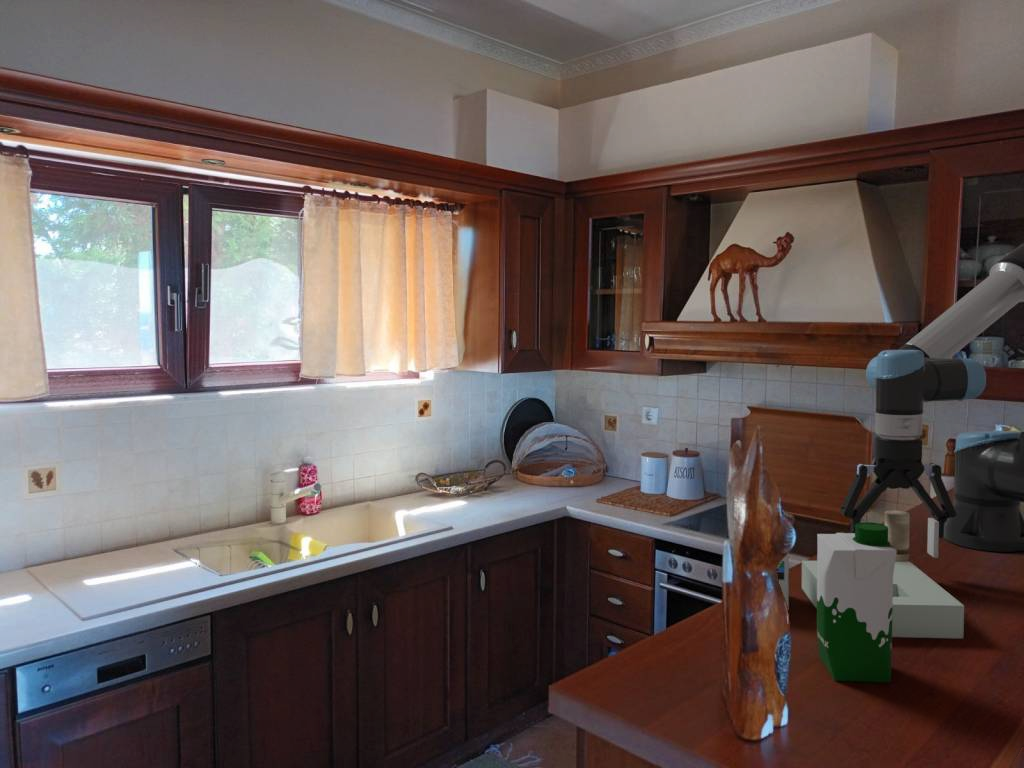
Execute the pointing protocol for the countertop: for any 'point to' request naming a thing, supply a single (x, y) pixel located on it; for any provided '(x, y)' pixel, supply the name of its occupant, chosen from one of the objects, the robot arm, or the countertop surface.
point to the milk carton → (856, 603)
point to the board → (910, 603)
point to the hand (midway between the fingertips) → (896, 554)
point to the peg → (898, 533)
